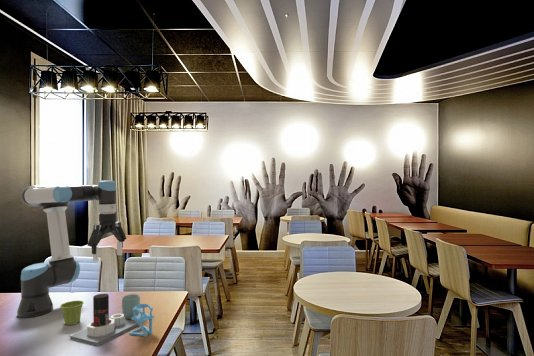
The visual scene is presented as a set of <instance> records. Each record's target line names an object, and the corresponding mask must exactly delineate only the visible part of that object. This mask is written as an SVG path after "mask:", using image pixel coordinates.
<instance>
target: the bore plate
mask: <svg viewBox="0 0 534 356" xmlns="http://www.w3.org/2000/svg"><path fill="white" fill-rule="evenodd" d="M138 326H140V325H139V324H138V323H137V322H136V321H134V320H131V319H125V318H124V314H123V313H115V314H112V315H110V317H109V324H108V325H105V326H100V327H94V323H93V321H90V322H88V323H87V327H86V328H85V329H84V330H81V331H79V332H77V333H74V334H72V335H69V339H70V340H73V341H77V342H81V343H85V344H89V345H93V346H97V347H98V346H100V345H102V344H105V343H107V342H108V341H111V340H112V339H114V338H116V337H118V336H120V335H122V334H125V333H127V332H128V331H130V330H132V329H134V328H136V327H138Z"/></svg>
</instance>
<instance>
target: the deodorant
mask: <svg viewBox="0 0 534 356" xmlns="http://www.w3.org/2000/svg"><path fill="white" fill-rule="evenodd" d="M109 297H110V296H109V293H99V294H95V295H93V296H92V298H93V299H92V300H93V305H92V307H93V311H92V313H93V315H92V316H93V323H94V327H100V326H105V325H108V324H109V318H110V317H109V316H110V315H109V314H110V312H109V311H110V307H109V305H110V304H109V303H110V301H109V299H110V298H109Z"/></svg>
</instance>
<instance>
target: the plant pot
mask: <svg viewBox="0 0 534 356" xmlns="http://www.w3.org/2000/svg"><path fill="white" fill-rule="evenodd" d="M83 304H84V301H83V300H71V301H67V302H64V303H62V304H60V305H59V306H60V308H61V310H62V315H63V321H64V325H67V326H72V325H73V326H74V325H76V324H78V323H80V322H81V314H82V307H83Z"/></svg>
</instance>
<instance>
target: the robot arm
mask: <svg viewBox="0 0 534 356" xmlns="http://www.w3.org/2000/svg"><path fill="white" fill-rule="evenodd" d="M116 185H117V184H116V181H115V180H99V181H98V184H83V185H82V184H81V185H79V184H78V185H77V184H76V185H69V184H68V185H67V184H66V185H64V184H33V185H29V186H26V187H25V188H23V190H21V193H20V200H21V201H22V203H23V204H24V205H26V206H28V207H35V208H42V211H43V212H44V213H46V218H47V227H48V236H49V237H48V238H49V245H50V253H51V258H50V259H49V261H48V262H39V263H33V264H31V265H28V266H26V267H24V268H23V269H22V270H21V272H20V273H21V274H20V288H21V289H20V291H21V293H20V302H19V304H18V307H17V309H16V316H17V317H19V318H34V317H39V316H43V315H46V314H49V313H51V312H52V311H53V310H54V304H53V301H52V298H51V297H50V288H55V287H58V286H63V285H67V284H70V283H73V282H75V281H76V280H77V279H78V278H79V276H80V273H81V265H80V263H79V260H77V259H75V257H74V256H73V255H72V254H71V250H70V243H69V233H68V226H67V218H66V210H67V209H68V205H70V204H71V203H72V202H73V203H74V202H88V201H89V202H90V201H98V213H99V214H98V222H99V224H94V225H93V229H92V232H91V235H90V237H89V240H88V242H87V246H88V247H91V254H92V261H93V262H99V251H100V249H99V246H98V245H99V244H100V241H102V239H103V237H104V235H106V234H109V233H112V235H113V236H114V238H116V240H117V241H116V256H123V247H124V242H125V240H127V236H126V233H125V231H124V229H123V227H122V222H121V221H117V213H116V212H117V187H116Z"/></svg>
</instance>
